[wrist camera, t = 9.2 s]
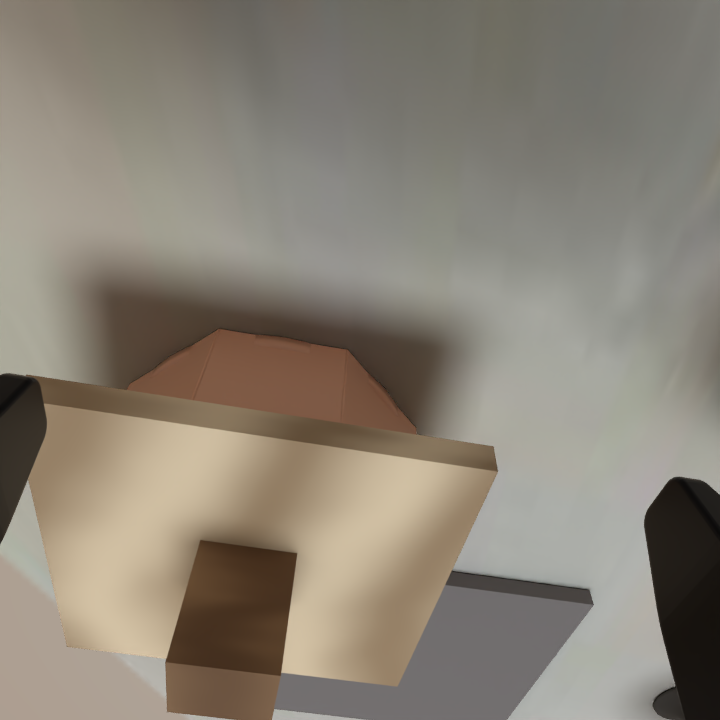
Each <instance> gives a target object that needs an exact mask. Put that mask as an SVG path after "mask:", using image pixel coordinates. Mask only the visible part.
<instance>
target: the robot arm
mask: <svg viewBox="0 0 720 720" xmlns="http://www.w3.org/2000/svg"><path fill="white" fill-rule="evenodd" d="M46 431H47V417H46V412H45V407H44V401H43V396H42V391H41V386H40V383H39V381H38V380H37V379H36V378H34V377H30V376H24V375H17V374H10V373H6V374H2V375H0V544H1V542H2V540H3V538H4V536H5V533H6V531H7V529H8V527H9V524H10V522H11V520H12V517H13V515H14V512H15V510H16V507H17V505H18V502H19V500H20V497H21V495H22V493H23V490H24V488H25V485H26V483H27V480H28V478H29V475H30V473H31V470H32V468H33V466H34V463H35V461H36V458H37V456H38V453H39V451H40V448H41V446H42V443H43V441H44V438H45V435H46ZM644 528H645V535H646V541H647V548H648V554H649V561H650V567H651V574H652V580H653V587H654V593H655V599H656V606H657V612H658V617H659V622H660V627H661V631H662V635H663V640H664V644H665V647H666V651H667V655H668V659H669V663H670V666H671V670H672V674H673V678H674V681H675V685H676V689H677V693H678V697H679V700H680V704H681V708H682V712H683V715H684V719H685V720H720V495H719V494H718V493H717V492H716V491H715V490H714V489H712V488H711V487H710V486H709V485H708V484H707V483H705V482H703V481H701V480H697V479H691V478H684V477H674V478H672V479H670V480H669V481H668V482H667V484H666V485H665V486H664V488H663V489H662V490H661V492H660V493H659V495H658V496H657V497H656V499H655V500H654V501H653V503H652V504H651V505H650V507H649V508H648V510H647V512H646V515H645V519H644Z"/></svg>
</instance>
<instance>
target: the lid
mask: <svg viewBox="0 0 720 720" xmlns="http://www.w3.org/2000/svg"><path fill="white" fill-rule="evenodd" d="M26 376H30V377H34V378H36V379H37V380H38V381H39V383H40V386H41V391H42V396H43V401H44V407H45V412H46V417H47V431H46V435H45V438H44V441H43V443H42V446H41V448H40V451H39V453H38V456H37V458H36V461H35V463H34V466H33V468H32V470H31V473H30V475H29V478H28V480H29V484H30V489H31V493H32V497H33V502H34V506H35V510H36V515H37V519H38V523H39V528H40V532H41V536H42V541H43V545H44V549H45V554H46V558H47V562H48V566H49V571H50V575H51V579H52V584H53V588H54V592H55V597H56V601H57V605H58V610H59V614H60V618H61V622H62V627H63V631H64V636H65V640H66V644H67V647H74V648H81V649H89V650H98V651H106V652H114V653H122V654H131V655H139V656H147V657H156V658H164V659H166V662H165V664H166V692H167V712H173V713H181V714H190V715H199V716H208V717H217V718H225V719H234V720H272V716H273V711H274V706H275V702H276V697H277V692H278V687H279V682H280V678H281V673H288V674H297V675H305V676H313V677H322V678H330V679H338V680H346V681H355V682H363V683H371V684H380V685H388V686H396V687H398V685H399V682H400V680H401V678H402V676H403V674H404V672H405V670H406V668H407V665H408V663H409V661H410V659H411V657H412V655H413V653H414V650H415V648H416V646H417V644H418V642H419V640H420V638H421V635H422V633H423V631H424V629H425V627H426V625H427V623H428V620H429V618H430V616H431V614H432V612H433V610H434V608H435V605H436V603H437V601H438V599H439V597H440V595H441V593H442V590H443V588H444V586H445V584H446V582H447V580H448V578H449V575H450V573H451V571H452V569H453V567H454V565H455V563H456V561H457V558H458V556H459V554H460V552H461V550H462V548H463V546H464V543H465V541H466V539H467V537H468V535H469V533H470V531H471V528H472V526H473V524H474V522H475V520H476V518H477V516H478V513H479V511H480V509H481V507H482V505H483V503H484V501H485V498H486V496H487V494H488V492H489V490H490V488H491V486H492V483H493V481H494V479H495V477H496V475H497V473H498V469H497V464H496V458H495V453H494V447H493V446H487V445H481V444H474V443H468V442H461V441H455V440H448V439H442V438H435V437H429V436H422V435H416V434H409V433H403V432H396V431H390V430H383V429H377V428H370V427H364V426H357V425H351V424H344V423H338V422H331V421H325V420H318V419H312V418H305V417H299V416H292V415H286V414H279V413H273V412H266V411H260V410H253V409H247V408H240V407H234V406H227V405H221V404H214V403H208V402H201V401H195V400H188V399H182V398H175V397H169V396H162V395H156V394H149V393H143V392H136V391H130V390H123V389H117V388H110V387H104V386H97V385H91V384H84V383H78V382H71V381H65V380H58V379H52V378H45V377H39V376H32V375H26Z"/></svg>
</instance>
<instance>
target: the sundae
mask: <svg viewBox="0 0 720 720" xmlns="http://www.w3.org/2000/svg"><path fill="white" fill-rule="evenodd" d="M653 707H654V710H655V711H656V713H657V714H658V715H660V716H662V717H664V718H666V719H671V720H685V719H684V715H683V712H682V708H681V704H680V700H679V697H678V693H677V689H676V688H673V689H670V690H668V691H666V692H664V693H663V694H661V695H660V696H659V697H657V699H656V700H655V702H654V705H653Z"/></svg>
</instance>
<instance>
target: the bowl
mask: <svg viewBox="0 0 720 720" xmlns="http://www.w3.org/2000/svg"><path fill="white" fill-rule="evenodd" d="M127 390H130V391H136V392H143V393H149V394H156V395H162V396H169V397H175V398H182V399H188V400H195V401H201V402H208V403H214V404H221V405H227V406H234V407H240V408H247V409H253V410H260V411H266V412H273V413H279V414H286V415H292V416H299V417H305V418H312V419H318V420H325V421H331V422H338V423H344V424H351V425H357V426H364V427H370V428H377V429H383V430H390V431H396V432H403V433H409V434H416V427H415V426H414V425H413V424H412V423H411V422H410V421H409V420H408V418H407V417H406V416H405V415H404V414H403V413H402V411H401V410H400V409H399V408H398V407H397V405H396V403H395V402H394V400H393V399H392V398H391V396H390V395H389V394H388V392H387V391H386V390H385V389H384V388H383V387H382V386H381V385H380V384H379V383H378V382H377V381H376V380H375V379H374V378H373V377H372V376H371V375H370V374H368V372H367V371H366V370H365V369H364V368H363V367H362V366H361V364H360V363H359V362H358V361H357V360H356V359H355V358H354V356H353V355H352V354H351V353H350V352H349V350H347V349H340V348H334V347H328V346H322V345H315V344H310V343H307V342H304V341H299V340H295V339H290V338H286V337H278V336H269V335H254V334H248V333H242V332H236V331H229V330H223V329H218V330H216V331H215V332H213V333H211V334H210V335H208V336H207V337H205V338H203V339H202V340H200V341H199V342H197V343H195V344H194V345H192V346H189V347H186V348H185V349H183V350H181V351H179V352H177V353H175V354H173V355H171V356H170V357H168V358H167V359H166V360H164V361H163V362H162V363H160V364H159V365H158V366H157V367H156V368H155V369H153V370H152V371H150V372H148V373H147V374H145V375H144V376H142V377H140V378H139V379H137V380H136V381H134V382H132V383H130V385H129V386H128V388H127Z"/></svg>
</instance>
